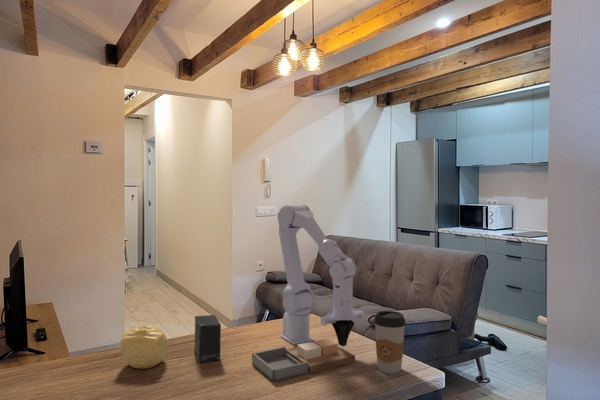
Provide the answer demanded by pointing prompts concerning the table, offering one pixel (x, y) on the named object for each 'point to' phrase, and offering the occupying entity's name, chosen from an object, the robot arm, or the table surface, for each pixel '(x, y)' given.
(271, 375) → the tray
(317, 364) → the board
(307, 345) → the cream tile
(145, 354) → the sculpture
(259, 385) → the table surface
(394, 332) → the coffee cup
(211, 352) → the small box
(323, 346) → the terracotta tile
